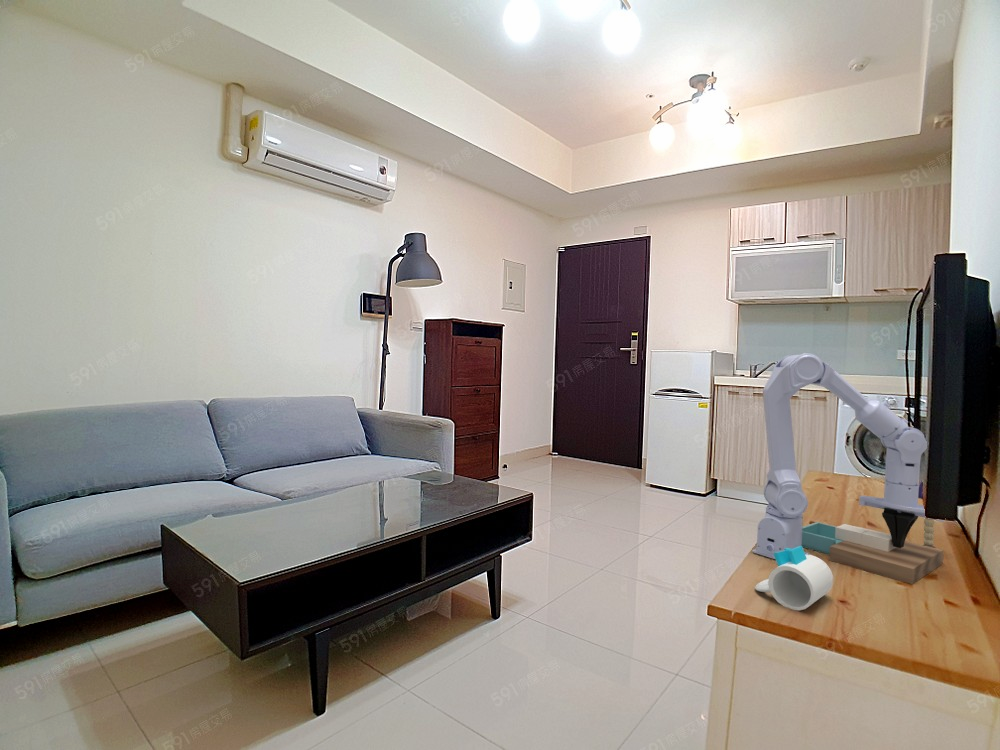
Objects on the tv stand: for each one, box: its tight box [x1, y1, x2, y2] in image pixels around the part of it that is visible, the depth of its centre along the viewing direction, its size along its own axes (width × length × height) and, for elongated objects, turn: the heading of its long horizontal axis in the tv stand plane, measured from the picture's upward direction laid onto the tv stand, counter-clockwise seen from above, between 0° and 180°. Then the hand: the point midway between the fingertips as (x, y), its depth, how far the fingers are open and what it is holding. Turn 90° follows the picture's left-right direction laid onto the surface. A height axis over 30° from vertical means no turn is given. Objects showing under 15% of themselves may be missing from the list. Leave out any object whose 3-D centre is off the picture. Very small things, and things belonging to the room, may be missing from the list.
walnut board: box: [828, 540, 944, 585], centre depth 112 cm, size 20×14×3 cm
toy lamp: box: [918, 480, 936, 548], centre depth 119 cm, size 5×5×17 cm
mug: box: [754, 546, 834, 611], centre depth 94 cm, size 12×9×12 cm
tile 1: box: [835, 523, 871, 544], centre depth 118 cm, size 5×5×2 cm
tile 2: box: [861, 529, 896, 552], centre depth 114 cm, size 5×5×2 cm
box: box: [802, 521, 844, 555], centre depth 122 cm, size 12×9×4 cm
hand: (898, 546), depth 111 cm, fingers closed
